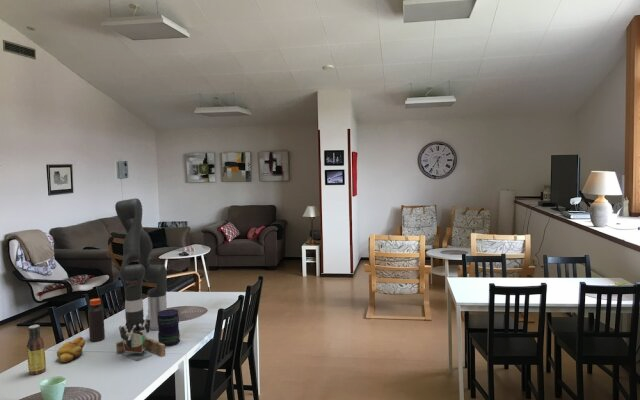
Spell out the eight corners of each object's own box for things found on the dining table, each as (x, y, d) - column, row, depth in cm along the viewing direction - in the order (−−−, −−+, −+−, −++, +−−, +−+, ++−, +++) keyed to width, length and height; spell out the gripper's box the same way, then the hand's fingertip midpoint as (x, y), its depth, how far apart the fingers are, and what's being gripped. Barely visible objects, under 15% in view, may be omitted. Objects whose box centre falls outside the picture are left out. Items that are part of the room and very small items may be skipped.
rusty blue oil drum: (184, 340, 228) (182, 310, 227) (171, 347, 219) (170, 316, 218) (167, 338, 231) (165, 308, 230) (153, 345, 222) (152, 314, 221)
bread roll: (71, 364, 203) (70, 346, 202) (49, 364, 203) (48, 346, 202) (87, 352, 215) (86, 335, 215) (67, 352, 216) (66, 335, 215)
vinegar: (108, 338, 233) (105, 298, 232) (96, 342, 227) (94, 302, 225) (98, 336, 236) (96, 297, 234) (86, 340, 230) (84, 300, 228)
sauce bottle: (33, 369, 198) (30, 323, 197) (49, 368, 199) (46, 322, 197) (25, 376, 192) (22, 328, 190) (41, 375, 192) (38, 328, 191)
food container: (153, 348, 213) (152, 326, 212) (144, 353, 207) (143, 331, 206) (130, 345, 217) (129, 324, 216) (121, 351, 211) (120, 329, 210)
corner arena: (116, 353, 213) (116, 342, 213) (141, 345, 223) (141, 334, 222) (139, 364, 201) (139, 353, 200) (165, 355, 210) (164, 344, 210)
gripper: (123, 314, 202) (125, 352, 203) (153, 306, 213) (155, 342, 214) (114, 311, 206) (116, 348, 208) (144, 303, 218) (146, 338, 219)
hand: (136, 345), depth 211 cm, fingers closed on food container, 6 cm apart
